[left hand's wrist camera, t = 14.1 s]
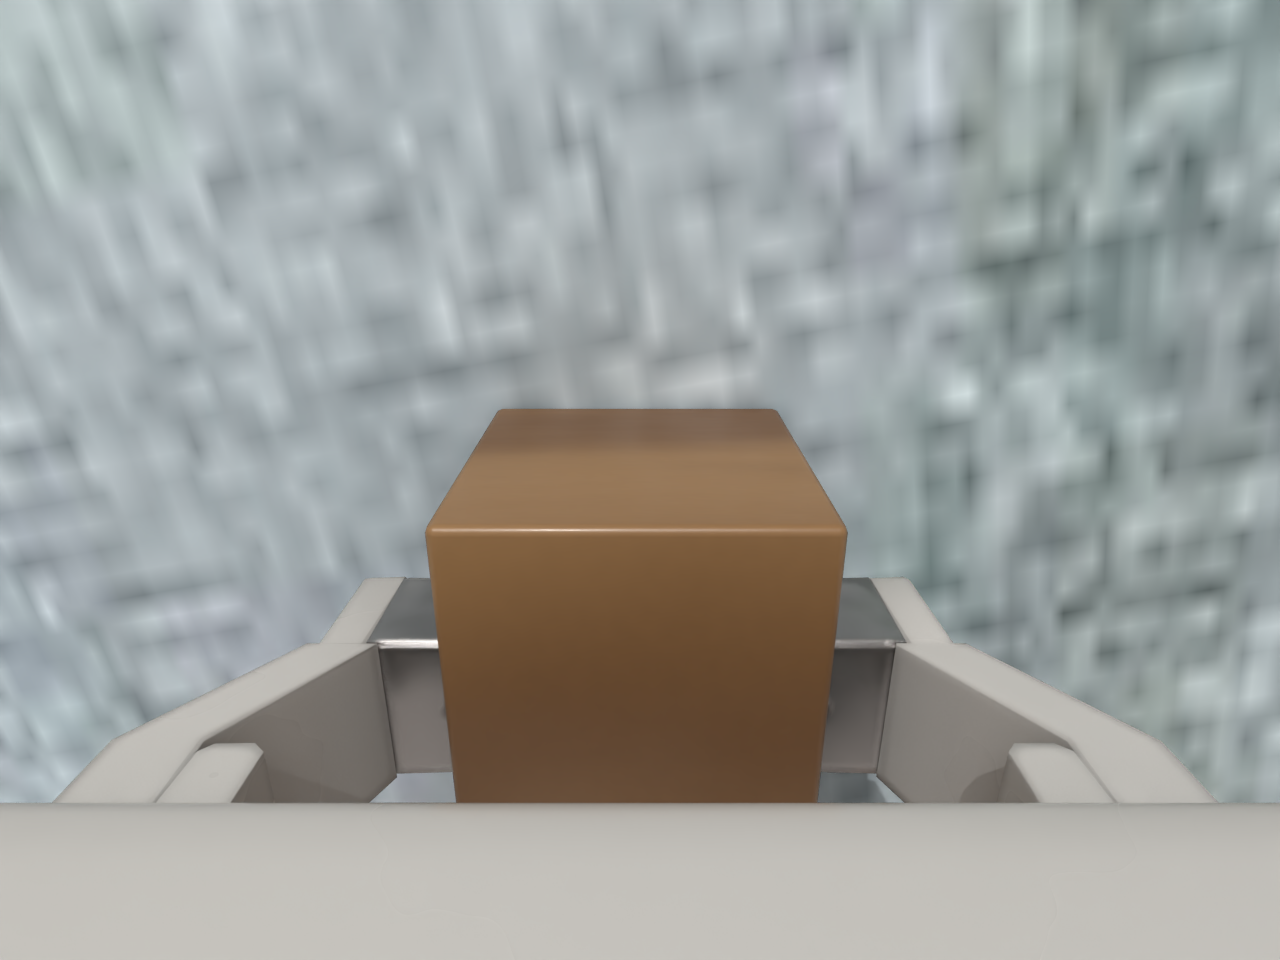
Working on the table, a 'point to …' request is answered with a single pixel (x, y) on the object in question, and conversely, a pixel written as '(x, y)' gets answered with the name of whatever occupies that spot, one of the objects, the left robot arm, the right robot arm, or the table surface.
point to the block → (636, 609)
